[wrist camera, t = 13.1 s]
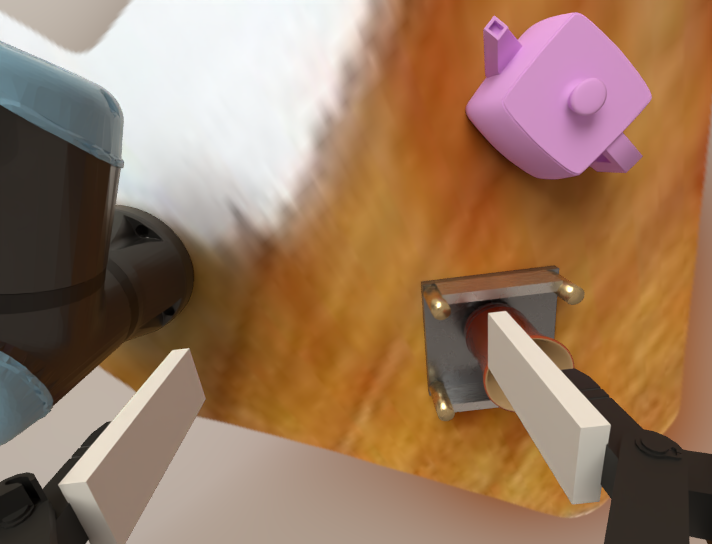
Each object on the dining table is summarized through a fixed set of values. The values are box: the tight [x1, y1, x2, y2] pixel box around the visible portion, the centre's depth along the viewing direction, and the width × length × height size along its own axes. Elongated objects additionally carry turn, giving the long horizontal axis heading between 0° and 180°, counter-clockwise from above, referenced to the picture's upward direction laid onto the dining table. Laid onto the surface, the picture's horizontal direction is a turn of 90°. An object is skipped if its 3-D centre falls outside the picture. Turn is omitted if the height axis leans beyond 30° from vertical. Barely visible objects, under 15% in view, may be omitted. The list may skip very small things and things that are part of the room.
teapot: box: [466, 12, 652, 179], centre depth 32 cm, size 18×10×10 cm, turn 52°
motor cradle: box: [421, 266, 584, 421], centre depth 43 cm, size 16×16×6 cm
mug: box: [464, 302, 574, 412], centre depth 40 cm, size 12×9×10 cm
